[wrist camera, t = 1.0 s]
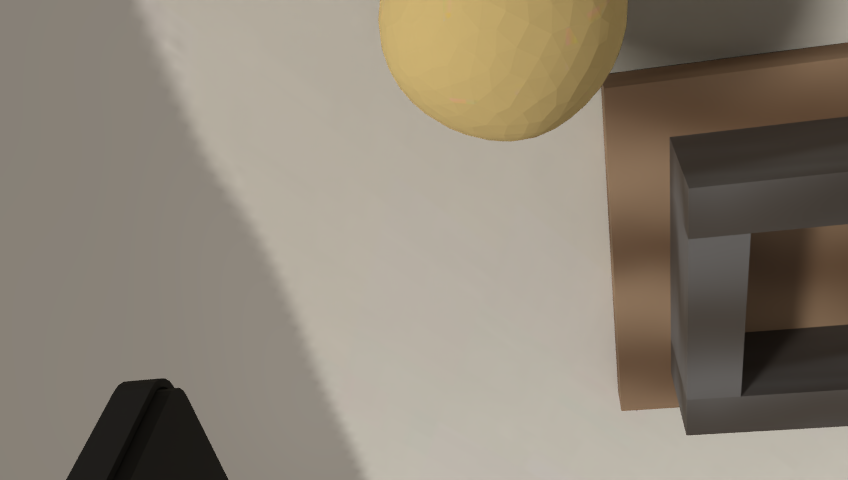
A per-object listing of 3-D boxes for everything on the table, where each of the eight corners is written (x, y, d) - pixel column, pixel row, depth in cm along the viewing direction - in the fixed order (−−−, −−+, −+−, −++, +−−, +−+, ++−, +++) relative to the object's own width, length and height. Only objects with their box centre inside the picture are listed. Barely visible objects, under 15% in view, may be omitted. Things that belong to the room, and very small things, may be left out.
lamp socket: (600, 74, 29) (616, 136, 25) (1096, 10, 26) (1201, 67, 22) (618, 391, 38) (632, 474, 34) (991, 366, 35) (1053, 452, 31)
